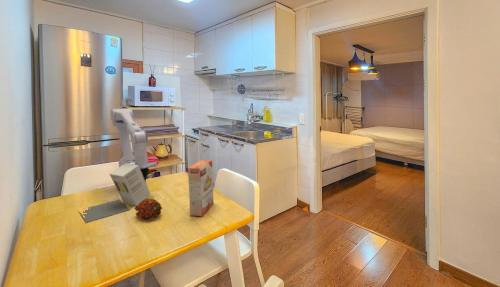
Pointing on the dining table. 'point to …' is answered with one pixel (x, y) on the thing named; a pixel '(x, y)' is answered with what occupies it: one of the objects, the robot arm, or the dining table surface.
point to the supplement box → (130, 184)
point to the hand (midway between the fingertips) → (143, 183)
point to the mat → (104, 210)
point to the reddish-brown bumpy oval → (148, 208)
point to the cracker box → (200, 187)
